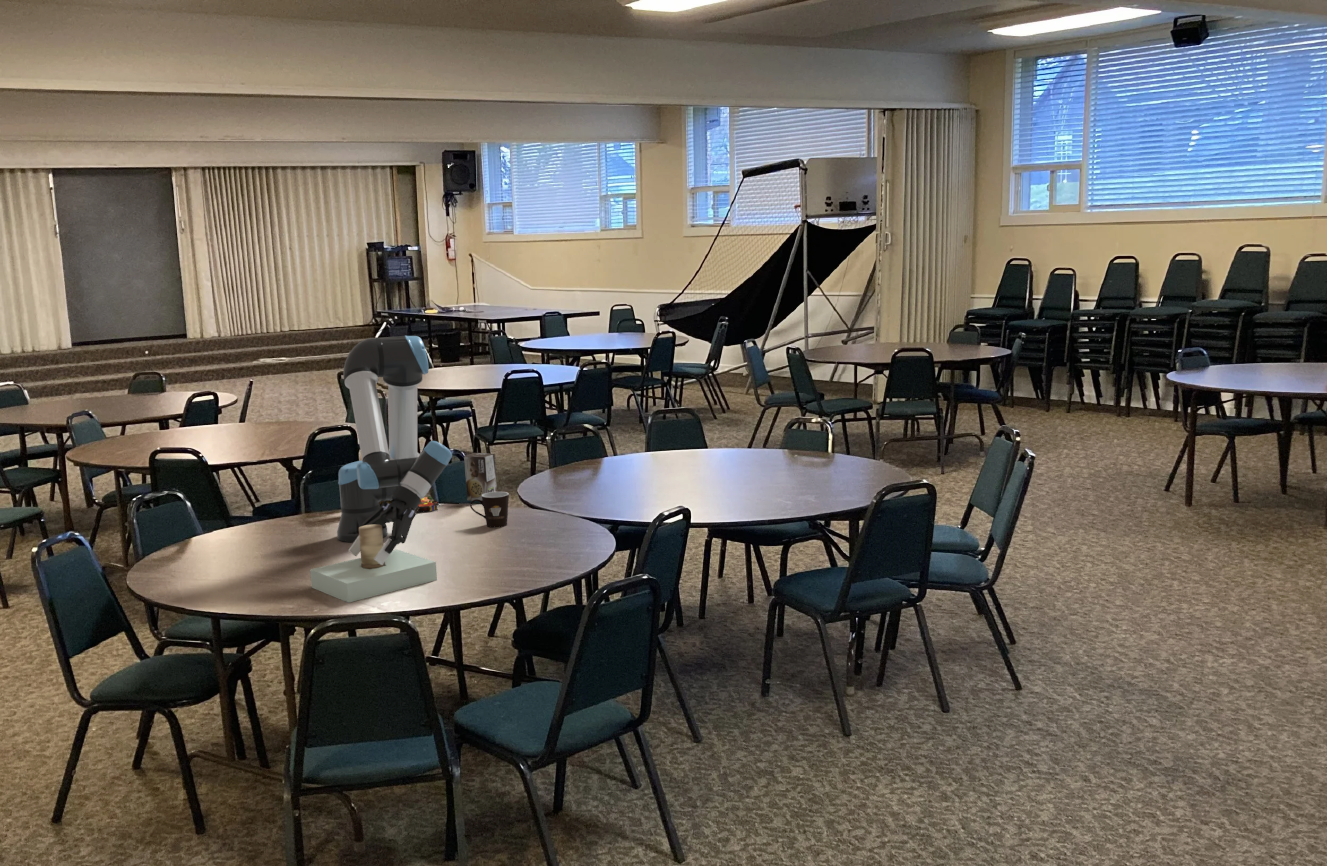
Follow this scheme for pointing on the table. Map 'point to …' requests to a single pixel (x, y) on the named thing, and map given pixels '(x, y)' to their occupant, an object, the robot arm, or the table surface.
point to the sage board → (373, 576)
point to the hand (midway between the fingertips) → (364, 557)
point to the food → (422, 504)
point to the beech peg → (370, 545)
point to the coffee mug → (494, 508)
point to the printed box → (480, 475)
